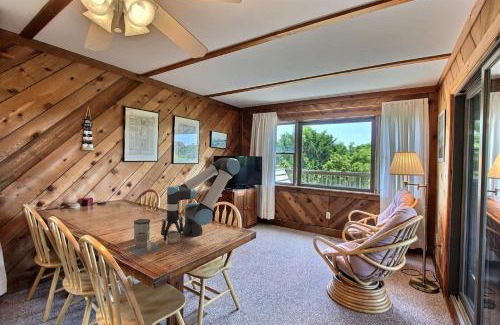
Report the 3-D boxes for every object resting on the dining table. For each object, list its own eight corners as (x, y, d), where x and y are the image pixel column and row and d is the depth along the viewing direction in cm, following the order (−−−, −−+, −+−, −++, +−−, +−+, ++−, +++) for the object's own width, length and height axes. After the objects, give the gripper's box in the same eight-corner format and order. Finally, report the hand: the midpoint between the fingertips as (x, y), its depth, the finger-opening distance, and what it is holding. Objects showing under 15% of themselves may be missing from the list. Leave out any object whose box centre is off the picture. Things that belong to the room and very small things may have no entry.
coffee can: (131, 240, 175) (131, 220, 175) (146, 237, 182) (147, 218, 182) (136, 245, 168) (136, 223, 167) (152, 241, 175) (152, 221, 174)
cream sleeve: (174, 241, 176) (174, 230, 176) (179, 244, 171) (179, 232, 171) (165, 243, 171) (165, 231, 171) (169, 246, 166) (170, 234, 166)
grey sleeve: (141, 243, 167) (141, 231, 167) (149, 245, 165) (149, 232, 164) (133, 246, 161) (133, 234, 161) (141, 248, 158) (141, 235, 158)
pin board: (151, 243, 171) (152, 233, 170) (164, 251, 158) (164, 240, 157) (126, 249, 160) (126, 238, 159) (137, 258, 147) (137, 246, 146)
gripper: (183, 206, 180) (183, 239, 181) (155, 210, 166) (154, 245, 167) (189, 208, 175) (188, 241, 175) (160, 213, 160) (159, 249, 161)
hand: (172, 243), depth 171 cm, fingers open, 8 cm apart
